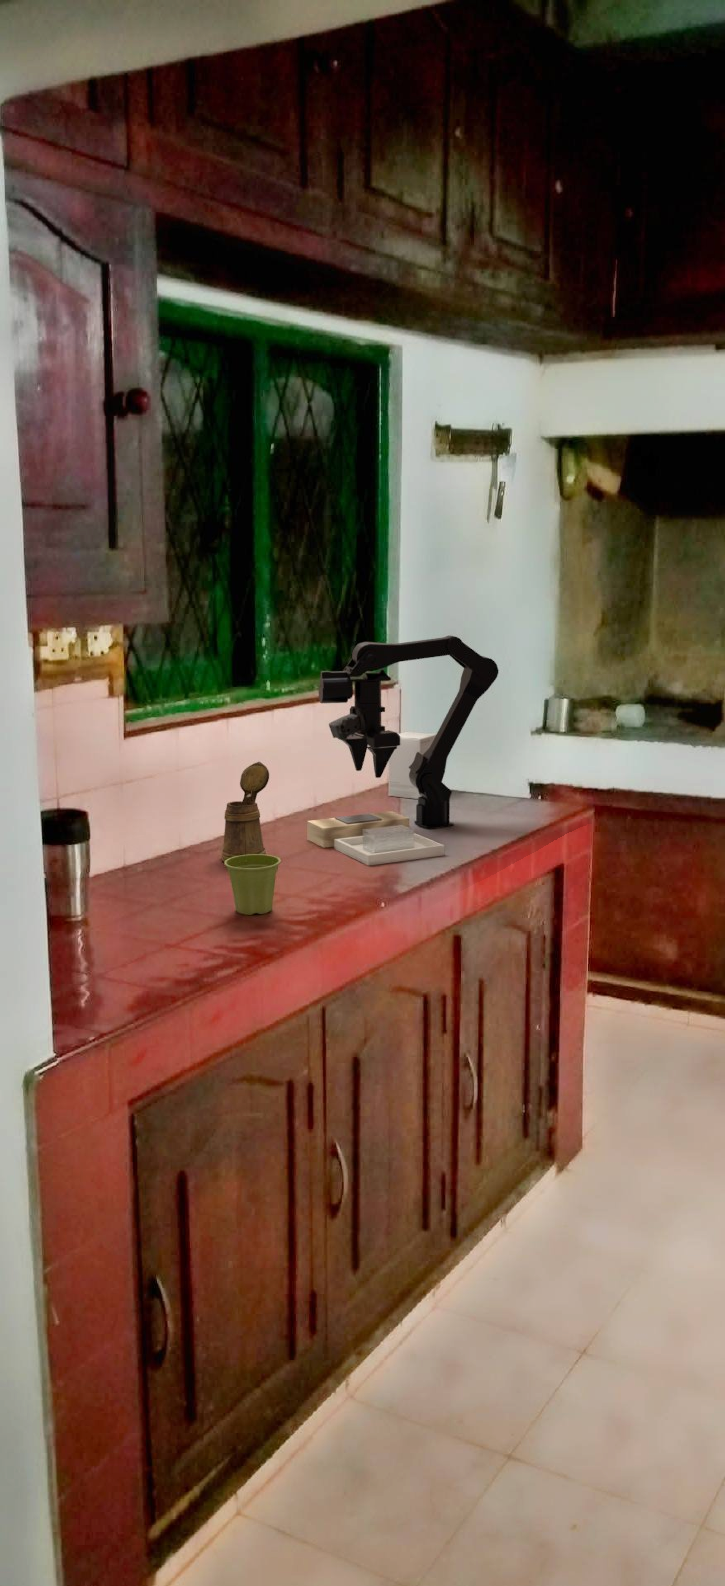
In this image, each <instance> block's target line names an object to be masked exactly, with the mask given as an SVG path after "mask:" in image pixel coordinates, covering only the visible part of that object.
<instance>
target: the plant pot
mask: <svg viewBox="0 0 725 1586" xmlns="http://www.w3.org/2000/svg"><path fill="white" fill-rule="evenodd" d="M281 861H282V860H281V858H280V857H278V856H275V855H271V854H266V855H264V854H249V855H241V856H235V857H232V858H229V859H227V860H226V861H225V862H224V866H225V867H226V869H227V872H228V874H229V877H230V883H231V888H232V895H233V899H234V900H233V901H234V905H235V910H236V912H237V913H239V914H242V915H245V916H251V915H254V914H259V915H264V914H267V913H269V912H271V911H272V910H273V906H274V905H273V904H274V895H275V887H276V885H275V884H276V878H277V876H276V875H277V872H278V869H279V866H280V864H281Z"/></svg>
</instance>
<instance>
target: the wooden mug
mask: <svg viewBox="0 0 725 1586" xmlns="http://www.w3.org/2000/svg"><path fill="white" fill-rule="evenodd" d="M269 780H270V771H269V769H268V767H267V766H266V765H265V764H263V763H262V762H261V761H257V762H254V763H253V764H250V765H249V766H247V767H245V769H244V770H243V771H242V773H241V776H240V780H239V781H240V782H239V787H240V789H241V790H242V791H243V792H244V795H243V799H242V801H237V800H236V801H230V802H227V803H226V809H225V811H224V821H225V822H224V835H223V846H222V847H223V848H222V849H221V861H223V862H224V863H225V861H226V860H227V859H229V858H232V857H235V856H241V855H249V854H264V855H267V853H266V847H264V839H263V834H262V827H261V820H260V818H261V812H260V809H259V806H258V803H257V802H256V799H257V796H258V794H259V793H260V792H261V791H263V790H264V789H265V788H266V787H267V784H268V783H269Z"/></svg>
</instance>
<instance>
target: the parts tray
mask: <svg viewBox="0 0 725 1586" xmlns="http://www.w3.org/2000/svg"><path fill="white" fill-rule="evenodd" d="M333 848H334V850H336V851H338V852H340V853H342V854H344V855H346V856H348V857H350V858H352V859H354V860H356V861H358V862H360V863H362V864H364V865H366V866H375V865H382V864H389V863H390V864H391V863H398V862H405V861H410V860H411V861H412V860H418V859H427V858H433V857H434V858H435V857H442V856H445V845H444V844H442V843H439V842H437V841H435V840H433V839H430V838H427V837H425V836H423V835H421V834H418V833H415V832H414V848H413V849H405V850H398V851H390V852H382V853H375V854H372V853H370V852H368V851H366V850H364V849H363V836H357V837H349V838H341V839H334V846H333Z"/></svg>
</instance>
